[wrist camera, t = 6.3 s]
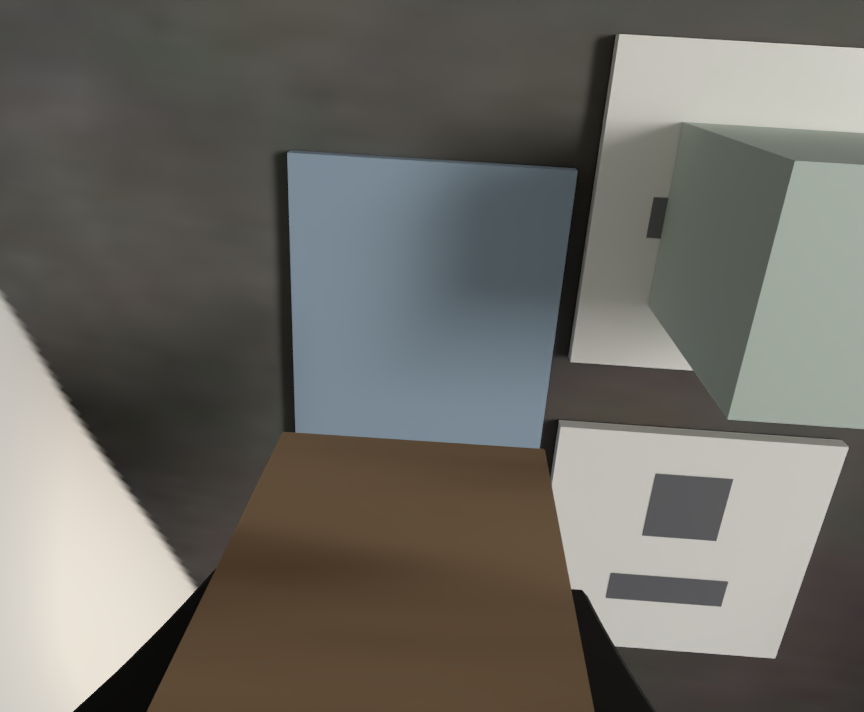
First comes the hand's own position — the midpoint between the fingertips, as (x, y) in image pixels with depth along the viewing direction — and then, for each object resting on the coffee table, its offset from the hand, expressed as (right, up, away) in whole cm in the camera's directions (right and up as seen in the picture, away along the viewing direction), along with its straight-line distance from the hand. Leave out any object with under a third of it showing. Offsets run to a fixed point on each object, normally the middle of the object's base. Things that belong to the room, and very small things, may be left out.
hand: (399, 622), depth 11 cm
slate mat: (0, +4, +8) cm, 9 cm away
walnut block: (0, +1, +1) cm, 2 cm away
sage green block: (+8, +8, +6) cm, 13 cm away
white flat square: (+8, +8, +6) cm, 13 cm away
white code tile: (+8, -1, +10) cm, 13 cm away
